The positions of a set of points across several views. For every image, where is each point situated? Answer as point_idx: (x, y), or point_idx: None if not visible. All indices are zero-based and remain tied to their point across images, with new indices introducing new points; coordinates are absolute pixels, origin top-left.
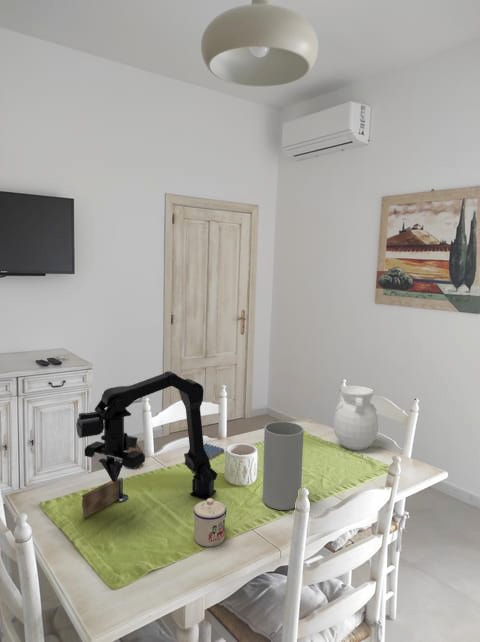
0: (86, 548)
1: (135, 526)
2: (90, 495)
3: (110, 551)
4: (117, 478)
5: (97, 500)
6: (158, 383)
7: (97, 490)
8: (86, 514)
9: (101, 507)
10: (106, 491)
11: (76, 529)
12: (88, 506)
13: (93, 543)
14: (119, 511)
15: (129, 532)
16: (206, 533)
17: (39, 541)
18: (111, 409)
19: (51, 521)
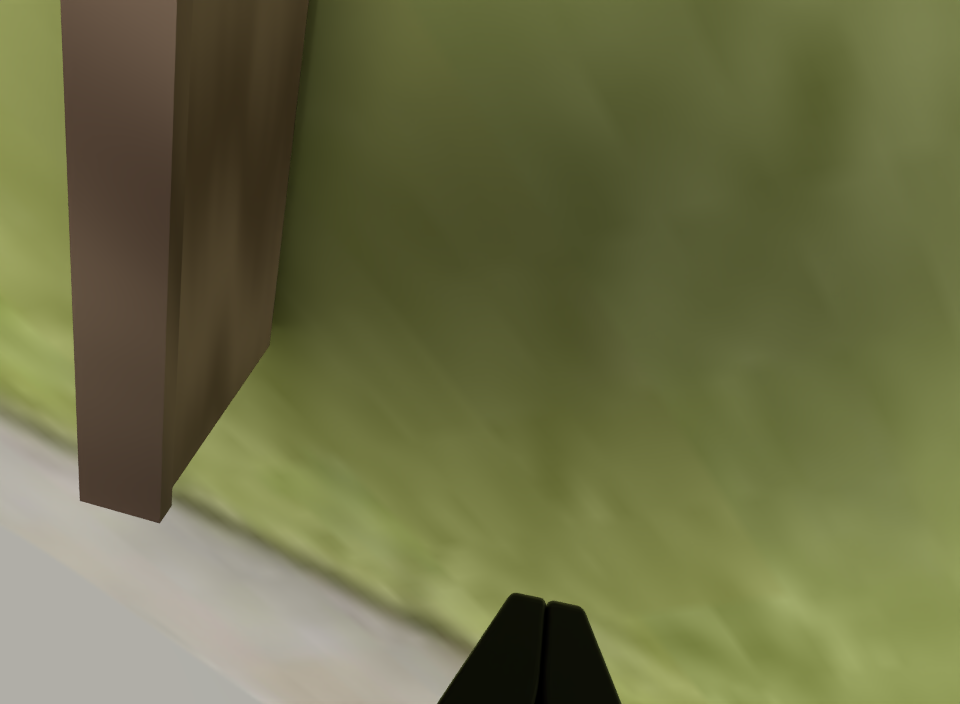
0: None
1: (935, 304)
2: (171, 445)
3: (819, 674)
4: (601, 667)
5: (232, 240)
6: None
7: (156, 321)
8: (261, 350)
9: (291, 119)
10: (214, 74)
11: (326, 486)
12: (228, 372)
13: (612, 616)
14: (550, 35)
15: (898, 421)
16: None
17: (193, 653)
18: None
19: (19, 431)
